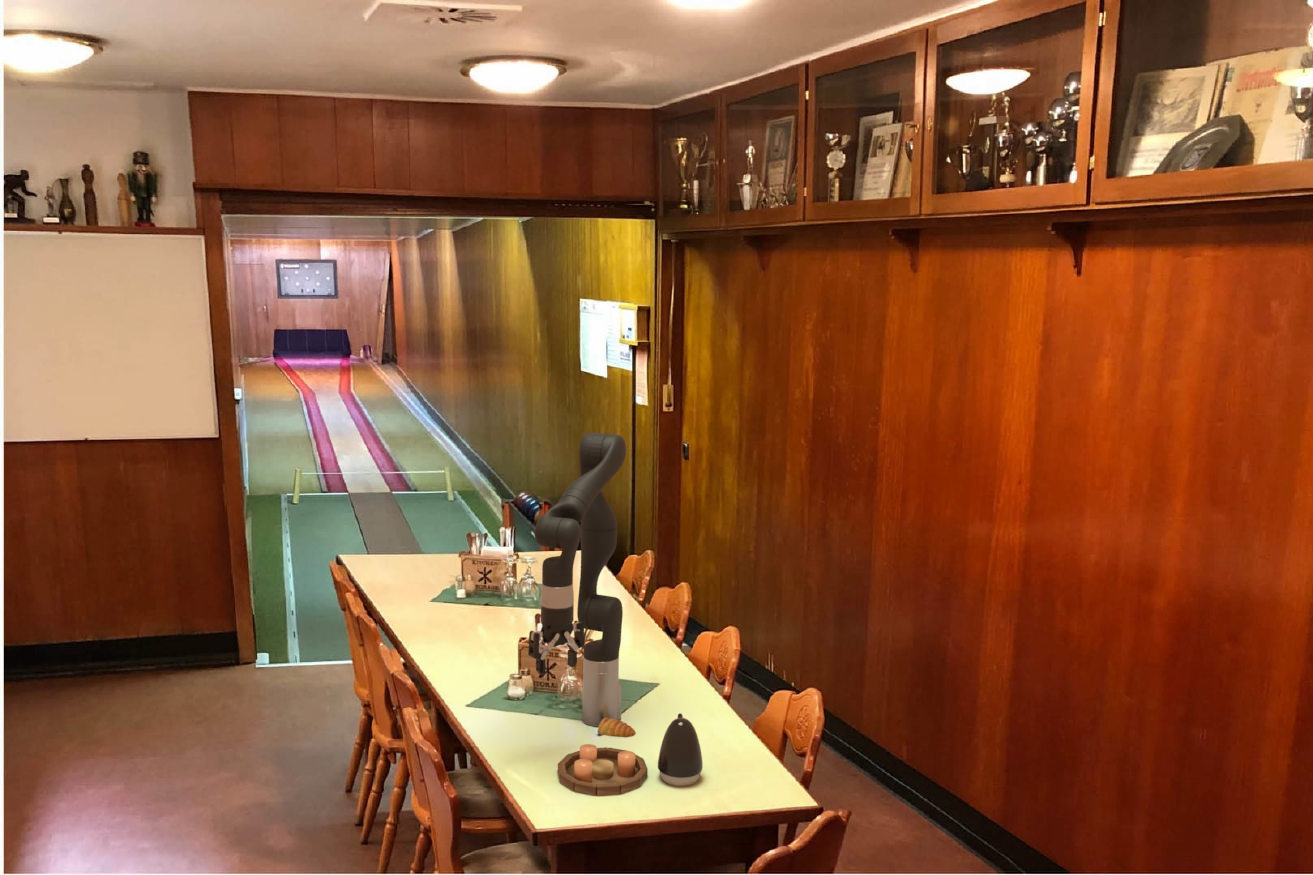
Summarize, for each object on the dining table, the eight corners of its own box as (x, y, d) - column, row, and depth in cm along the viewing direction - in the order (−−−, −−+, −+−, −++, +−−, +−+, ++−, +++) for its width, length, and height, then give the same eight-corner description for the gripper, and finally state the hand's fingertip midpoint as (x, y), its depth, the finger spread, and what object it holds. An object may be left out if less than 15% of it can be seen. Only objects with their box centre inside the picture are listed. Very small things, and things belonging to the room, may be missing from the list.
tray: (609, 752, 250) (610, 738, 250) (664, 782, 235) (664, 767, 235) (541, 775, 237) (541, 760, 237) (593, 808, 222) (594, 793, 222)
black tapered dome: (700, 771, 241) (702, 709, 239) (703, 792, 231) (705, 727, 229) (656, 771, 240) (658, 709, 238) (658, 792, 230) (659, 727, 228)
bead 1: (589, 760, 243) (590, 742, 242) (600, 766, 240) (600, 748, 239) (575, 765, 240) (576, 747, 240) (586, 771, 237) (586, 752, 237)
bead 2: (584, 776, 235) (585, 757, 235) (595, 782, 232) (595, 763, 232) (570, 780, 232) (570, 761, 232) (581, 787, 229) (581, 768, 229)
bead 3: (627, 767, 240) (628, 749, 239) (638, 773, 237) (638, 755, 236) (614, 772, 237) (614, 753, 237) (624, 778, 234) (625, 759, 234)
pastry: (640, 734, 261) (640, 720, 261) (627, 745, 255) (628, 730, 255) (607, 727, 265) (607, 713, 265) (594, 737, 259) (594, 722, 259)
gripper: (540, 611, 231) (540, 681, 233) (591, 600, 240) (590, 667, 242) (522, 604, 236) (521, 672, 238) (572, 593, 246) (571, 659, 248)
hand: (556, 669), depth 240 cm, fingers open, 8 cm apart
